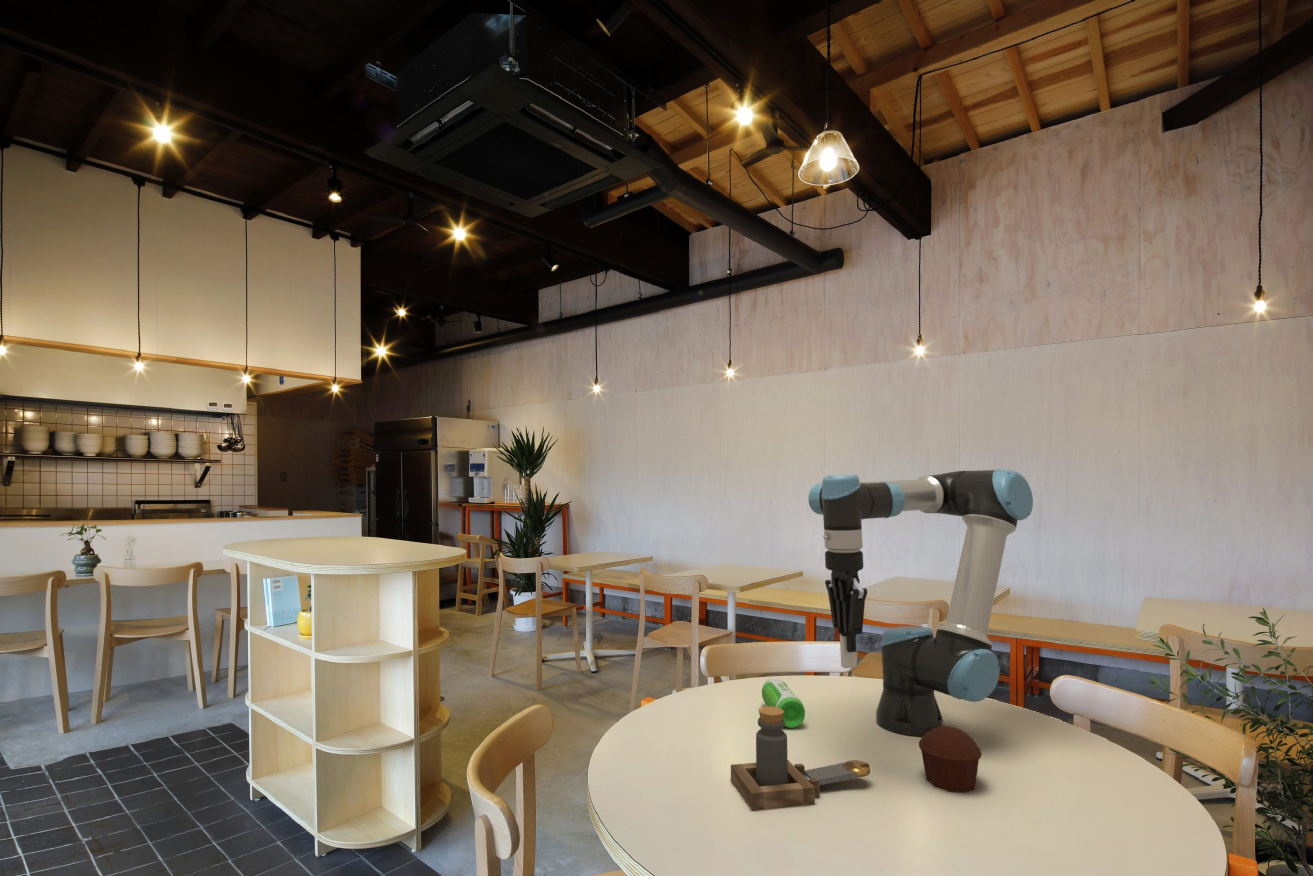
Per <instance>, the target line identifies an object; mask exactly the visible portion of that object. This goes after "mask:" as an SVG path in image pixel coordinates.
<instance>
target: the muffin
mask: <svg viewBox="0 0 1313 876" xmlns="http://www.w3.org/2000/svg"><path fill="white" fill-rule="evenodd" d="M918 747H919V749H920V752H921V757H922V762H923V767H924V774H925V779H926V782H928V783H929V784H931V785H932V786H933V787H934V788H937V789H941V790H943V791H946V792H949V793H960V794H961V793H962V794H966V793H969V792H973V791H975V790H976V783H977V777H978V769H979V768H978V767H979V761H980V759H981V758H982V755H983V753H982V751H981V748H980V746H979V745H978V743H977V742H976V741H975V739H974V738H973V737H972V736H970V735H969V734H968V733H966V732H964V731H963V730H962V729H960V728H957V727H955V726H954V727H953V726H950V725H949V726H947V725H945V726H944V725H943V726H940V727H936V728H933V729H932V730H930V731H928V732H927V733H926V734H925V735H924V736H921V738H920V739H919V741H918Z"/></svg>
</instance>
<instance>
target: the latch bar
mask: <svg viewBox="0 0 1313 876" xmlns="http://www.w3.org/2000/svg"><path fill="white" fill-rule="evenodd" d="M800 773H801V774H802V775H803V776H804V777H805V778H806V779H807V780H808V781H809V779H811V778H817V779H818V780H819V786H821V785H826V784H832V783H838V782H841V781H847V780H851V779H852V780H853V779H856V778H864V777H867V776H869V775H870V774H871V767H870V764H869V763H868V762H866V761H864V760H859V759H852V760H847V761H845V762H840V763H835V764H830V765H826V766H820V767H816V768H811V769H805V771H804V772H803V771H801V772H800Z"/></svg>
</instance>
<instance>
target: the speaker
mask: <svg viewBox="0 0 1313 876" xmlns="http://www.w3.org/2000/svg"><path fill="white" fill-rule="evenodd" d="M761 696H762V697H761V698H762V701H763V702H764V703H765V705H766V707H767V706H771V707H778V708H780V709H782V710H783V711H784V714H783V719H784V720H785V727H784V728H790V729H794V728H797V727H799V726H800V725H802V724H803V722H804V721H805V720H804V719H805V717H806V708H805V706H804V704H803V702H802V701H801V699H800V698H799V697H798V696H796V694H795V693H793V691H792V690H791V689H790V688H789V686H788V684H787V683H786V682H784V681H783V680H780V679H778V678H770V679H768V680H767V681H765V682H764V683H763V686H762V689H761Z"/></svg>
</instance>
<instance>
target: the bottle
mask: <svg viewBox="0 0 1313 876" xmlns="http://www.w3.org/2000/svg"><path fill="white" fill-rule="evenodd" d="M758 713H759V714H758V715H759V717H758V719H757V725H758V726H759V727H760V729H759V730H757V731H756V733H755V755H756V756H755V759H756V760H755V761H756V762H755V763H756V783H757V784H758V786H759V787H760V786H771V785H781V784H788V760H789V759H788V736H787V734H786V732H785V731H783V729H784V728H786V727H785V720H784V719H783V714H784V711H783V710H782V709H780V708H778V707H771V706H767V705H766V706H761V707H760V708H759V709H758Z"/></svg>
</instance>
